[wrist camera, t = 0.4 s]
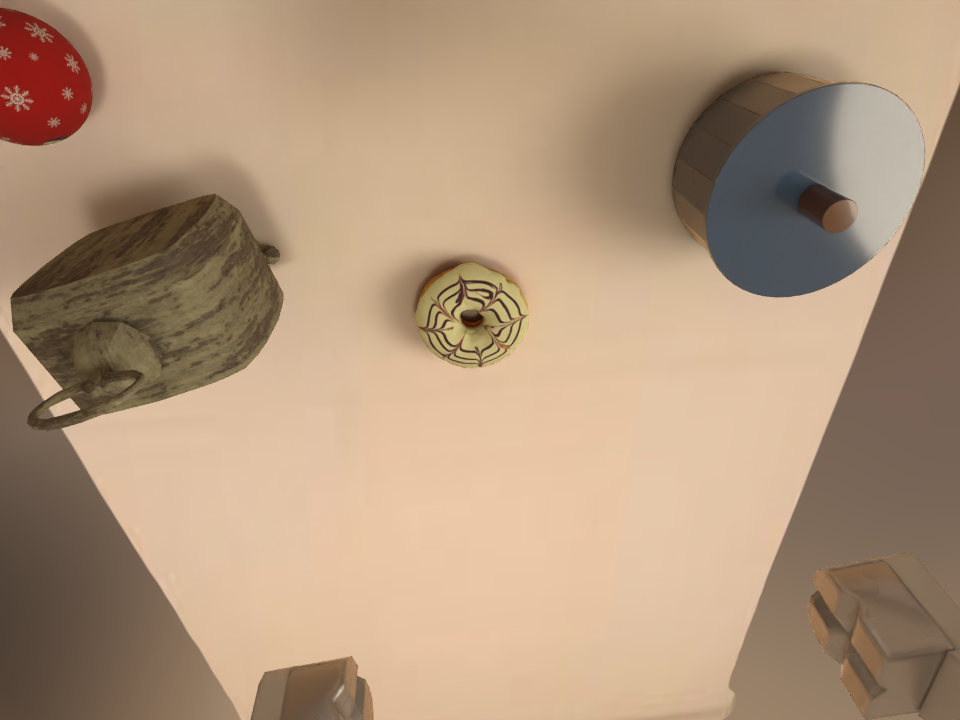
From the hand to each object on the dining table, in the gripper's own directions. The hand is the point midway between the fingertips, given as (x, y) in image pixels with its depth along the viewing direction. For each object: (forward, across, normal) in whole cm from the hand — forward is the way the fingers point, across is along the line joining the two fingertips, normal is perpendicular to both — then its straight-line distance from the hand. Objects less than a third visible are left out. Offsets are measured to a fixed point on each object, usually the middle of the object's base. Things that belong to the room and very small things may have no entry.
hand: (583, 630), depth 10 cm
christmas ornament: (+46, +29, -9) cm, 55 cm away
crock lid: (+38, -26, +10) cm, 47 cm away
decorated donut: (+46, +2, +18) cm, 50 cm away
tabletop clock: (+46, +24, +6) cm, 53 cm away
